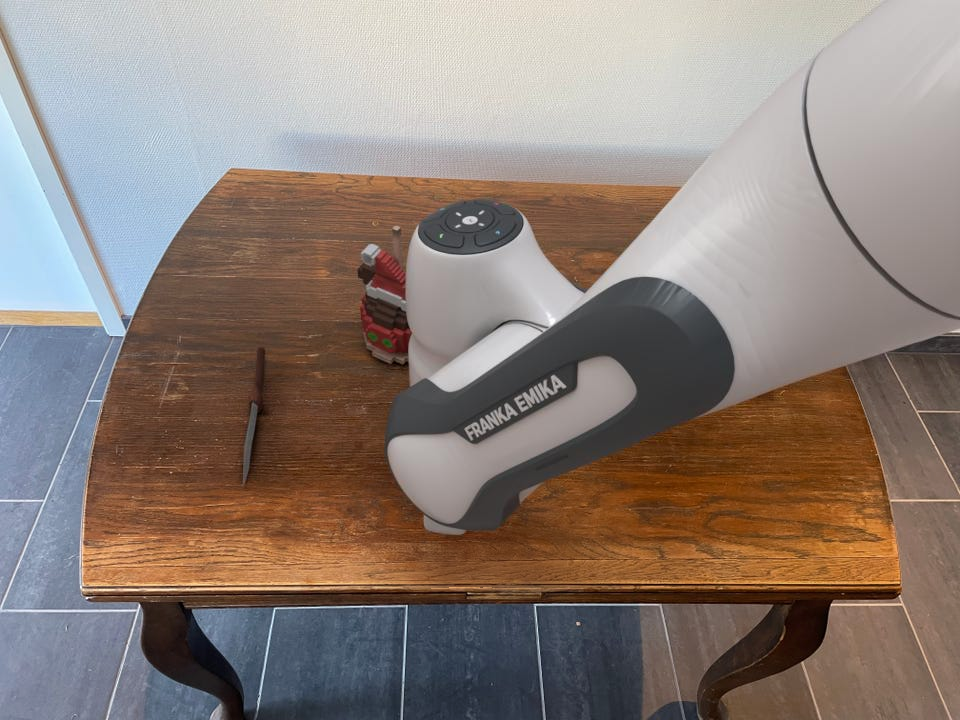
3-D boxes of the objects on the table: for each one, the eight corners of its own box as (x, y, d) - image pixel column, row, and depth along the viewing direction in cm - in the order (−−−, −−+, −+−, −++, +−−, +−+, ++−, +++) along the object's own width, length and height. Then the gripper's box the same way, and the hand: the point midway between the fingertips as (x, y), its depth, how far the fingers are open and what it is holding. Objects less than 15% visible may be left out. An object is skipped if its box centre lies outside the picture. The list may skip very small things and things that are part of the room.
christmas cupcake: (455, 331, 89) (460, 220, 76) (419, 380, 84) (417, 270, 70) (385, 301, 92) (378, 189, 78) (345, 346, 87) (330, 235, 73)
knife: (252, 491, 73) (247, 477, 71) (237, 492, 73) (231, 478, 71) (271, 358, 85) (267, 342, 83) (258, 358, 85) (254, 342, 82)
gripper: (487, 490, 50) (479, 570, 60) (511, 294, 63) (501, 388, 74) (401, 479, 50) (407, 561, 60) (443, 287, 63) (442, 381, 74)
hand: (459, 465), depth 67 cm, fingers closed
